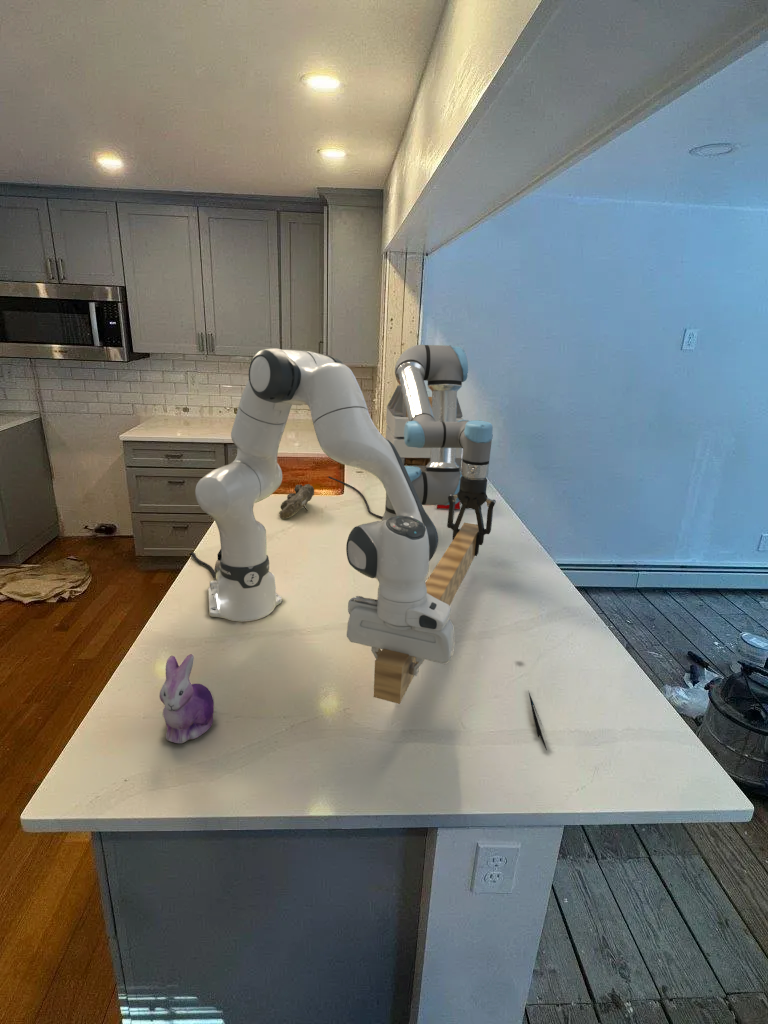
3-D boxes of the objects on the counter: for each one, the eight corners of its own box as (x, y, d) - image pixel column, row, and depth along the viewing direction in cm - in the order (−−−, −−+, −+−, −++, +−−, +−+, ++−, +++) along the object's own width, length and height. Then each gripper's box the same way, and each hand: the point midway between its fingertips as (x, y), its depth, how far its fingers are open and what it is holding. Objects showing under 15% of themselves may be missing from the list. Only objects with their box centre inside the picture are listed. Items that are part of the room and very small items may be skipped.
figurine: (167, 753, 99) (159, 681, 94) (159, 717, 107) (151, 649, 102) (222, 737, 103) (217, 667, 98) (210, 703, 111) (205, 637, 106)
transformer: (382, 463, 289) (386, 382, 275) (445, 464, 293) (451, 384, 279) (390, 482, 257) (394, 392, 243) (460, 483, 261) (468, 394, 247)
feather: (520, 667, 129) (525, 661, 129) (546, 754, 103) (553, 747, 102) (514, 663, 129) (519, 657, 129) (538, 750, 103) (545, 742, 102)
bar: (462, 546, 173) (464, 522, 170) (478, 549, 171) (481, 525, 169) (373, 697, 104) (374, 660, 101) (399, 704, 102) (402, 667, 100)
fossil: (284, 490, 227) (312, 470, 222) (299, 508, 230) (327, 488, 225) (269, 514, 207) (299, 492, 202) (286, 533, 210) (316, 512, 205)
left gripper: (341, 601, 103) (340, 666, 108) (451, 625, 97) (445, 692, 102) (354, 586, 109) (353, 648, 113) (459, 608, 103) (453, 672, 107)
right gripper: (439, 475, 158) (433, 552, 166) (504, 484, 153) (495, 563, 161) (445, 469, 165) (439, 543, 173) (508, 477, 160) (499, 553, 167)
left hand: (397, 669), depth 107 cm, fingers closed on bar, 5 cm apart
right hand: (466, 552), depth 167 cm, fingers closed on bar, 5 cm apart
